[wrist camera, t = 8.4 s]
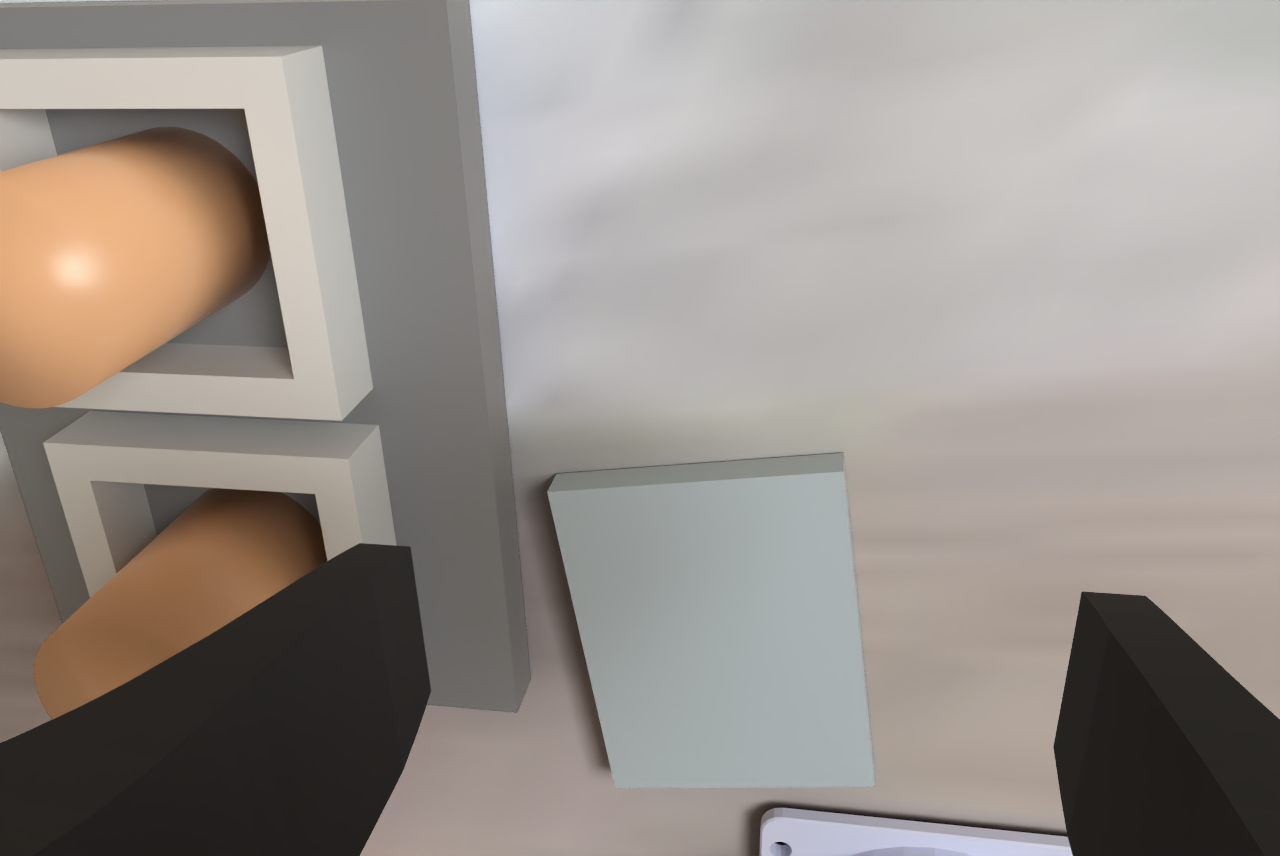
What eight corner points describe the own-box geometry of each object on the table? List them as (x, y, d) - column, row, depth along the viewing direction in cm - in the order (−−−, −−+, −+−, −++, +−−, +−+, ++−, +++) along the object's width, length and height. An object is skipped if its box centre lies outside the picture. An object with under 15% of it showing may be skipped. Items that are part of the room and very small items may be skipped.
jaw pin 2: (344, 620, 24) (231, 783, 19) (204, 608, 24) (62, 765, 20) (320, 486, 22) (191, 630, 18) (171, 477, 23) (11, 614, 18)
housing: (530, 678, 25) (499, 759, 23) (107, 642, 27) (36, 713, 25) (468, -7, 19) (414, 6, 16) (-84, 4, 20) (-207, 17, 18)
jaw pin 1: (283, 311, 21) (129, 416, 16) (122, 299, 21) (-72, 399, 17) (258, 130, 19) (81, 191, 15) (85, 123, 20) (-137, 179, 15)
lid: (873, 761, 25) (874, 787, 24) (621, 764, 26) (614, 788, 25) (843, 452, 21) (843, 471, 21) (556, 474, 23) (546, 492, 22)
